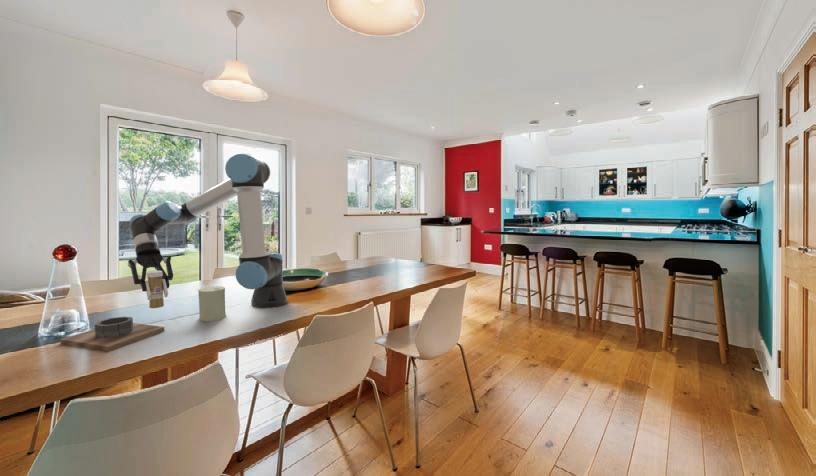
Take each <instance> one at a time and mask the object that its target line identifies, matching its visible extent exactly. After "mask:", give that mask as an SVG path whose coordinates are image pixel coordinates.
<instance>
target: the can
mask: <svg viewBox="0 0 816 476" xmlns="http://www.w3.org/2000/svg"><path fill="white" fill-rule="evenodd" d="M198 307H199V318H198V320H199V321H201V322H214V321H219V320H223V319H224V318H226V317H227V314H226V313H227V312H226V287H225V286H220V285H219V286H218V285H217V286H215V285H214V286H204V287H201V288H199V289H198Z"/></svg>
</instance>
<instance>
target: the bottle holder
mask: <svg viewBox="0 0 816 476" xmlns="http://www.w3.org/2000/svg"><path fill="white" fill-rule="evenodd" d="M133 320H134V318H133V317H132V316H115V317H109V318H106V319H102V320H98V321H97V322H96V323H95V324H94V328H93V329H91V330H87V331H84V332H80V333H77V334H74V335H69V336H67V337H63V338H61V339H59V344H60V345H66V346H69V347H70V346H72V347H75V348H76V347H77V348H84V349H90V350H95V351H103V352H111V351H114V350H115V349H116V350H117V349H119V348H121V347H124V346H127V345H130V344H133V343H135V342H137V341H141V340H143V339H147V338H149V337H152V336H154V335H157V334H160V333H164V332H165V326H161V325H151V324H145V323H144V324H143V323H137V322H133Z"/></svg>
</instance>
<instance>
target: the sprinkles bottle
mask: <svg viewBox="0 0 816 476" xmlns="http://www.w3.org/2000/svg"><path fill="white" fill-rule="evenodd" d="M162 276H163V274H162V271H157V270H152V271H146V278H147V281H148V283H149V288H150V292H151V300H148V301H149V303H148V304H149V306H148V307H149V308H150V309H161V308H163V307H164V306H165V302H164V300H165V299H164V298H165V295H164V291H163V283H162Z"/></svg>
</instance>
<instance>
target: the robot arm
mask: <svg viewBox="0 0 816 476" xmlns="http://www.w3.org/2000/svg"><path fill="white" fill-rule="evenodd" d="M224 167H225V168H224V171H225V173H226V176H227V178H228V179H226V180H224V181H223V182H221V183H219V184H217V185H216V186H213V187H211V188H210V189H208V190H206V191H205V192H202V193H200V194H198V195H197V196H195V197H193V198H192V199H190V200H188V201H185V202H184V203H182V204H181V205H179V206H178V205H177V204H176V203H175V202H172V201H170V200H166V201H164V202H162V203H160V204H158V205H157V206H156V207H155V208H153V209H152V210H150V212H149V211H148V213H147V214H146V213H139V214H136V215H133V216H132V217H131V218H130V220H129V229H130V231H131V236H132V239H133V240H132V241H133V245H134V249H135V250H134V251H135V255H136V258H135V259H129V260H128V262H127V266H128V267H129V269H130V271H131V275H132V280H133V284H134V285H135V286H137V285H140V287H141V290H142V291H141V292H145V293H146V297H147V300H148V301H149V300H151V292H150V288H149V283H148V280H146V278H147V272H148V271H147V269H150V268H154V269H155V271H162V274H163V276H162V283H163V296H164V298H168V295H169V288H170V285H171V284H170V281H172V280H173V279H174V274H173V268H172V264H171V263H172V262H171V261H172V256H167V257H165V256H163V255H162V253H161V249H160V246H159V242H158V239H157V238H158V237H157V233H158V232H159V231H160V230H162V229H164V228H165V227H166V226H168V225H179V224H187V225H188V224H190V223H194V222H195V221H196V220H197V218H198V217H200V216H201V215H203V214H205V213H207V212H209V211H210V210H212V209H214V208H216V207H218V206H220V205H222V204H224V203H225V202H228V201H229V200H231V199H233V198H234V197H236V198H237V206H238V209H237V210H238V218H239V227H240V229H239V230H240V238H241V250H242V251H241V253H240V254H239V256H238V261H239V262H238V263H239V265H238V266H237V268H236V270H235V273H234V275H235V279H236V282H237V283H238V284H239V285H240V286H241V287H242V288H245V289H247V290H253V293H252V297H251V300H250V301H251V303H250V304H251V306H252V307H255V308H274V307H279V306H283V305H285V304H287V302H288V296H287V294H286V291H285V289H284V288H285V287H284V284H283V283H284V281H283V278H284V277H283V276H284V275H283V261H284V260H283V255H282V254H281V253H276V252H275V253H274V252H273V253H271V252H269V251H267V250H266V244H265V243H266V242H265V241H266V240H265V231H264V221H263V218H264V217H263V210H262V209H263V208H262V207H263V206H262V197H261V191H263V189H264V188H265V187H264V185H265V183H267V182H268V180H269V178H270V176H271V170H270V169H271V168H270V165H269V164H268V163H267V162H266V161H265V160H264V159H262V158H260V157H258V156H257V157H256V156H254V155H252V154H250V153H243V152H239V153H235V154H232V155H231V156H230V157H229V158H228V159H227V160H226V163H225V166H224ZM162 262H163V263H164V264H165V268H166V269H164V267H163V266H162V265H161V263H162ZM137 264H138V265H140V266H141V267H142V271H141V276H140V277H141V278H139V274H138V270H137ZM165 270H166V271H165Z"/></svg>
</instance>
